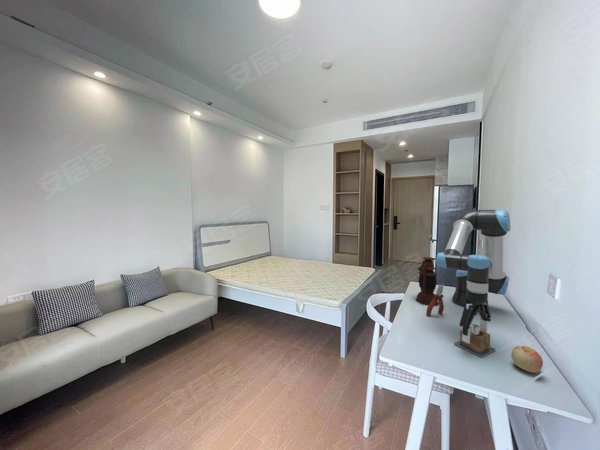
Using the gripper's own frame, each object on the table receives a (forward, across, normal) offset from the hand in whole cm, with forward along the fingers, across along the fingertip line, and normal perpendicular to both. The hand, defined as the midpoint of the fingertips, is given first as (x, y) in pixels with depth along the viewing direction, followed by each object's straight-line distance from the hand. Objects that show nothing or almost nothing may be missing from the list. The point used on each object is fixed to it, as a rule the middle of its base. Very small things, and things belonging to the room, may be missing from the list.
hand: (474, 338), depth 106 cm
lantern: (+5, -30, -44) cm, 53 cm away
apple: (+5, -2, +17) cm, 18 cm away
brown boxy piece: (+3, 0, 0) cm, 3 cm away
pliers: (+5, -16, -29) cm, 33 cm away
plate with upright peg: (+4, 0, 0) cm, 4 cm away
